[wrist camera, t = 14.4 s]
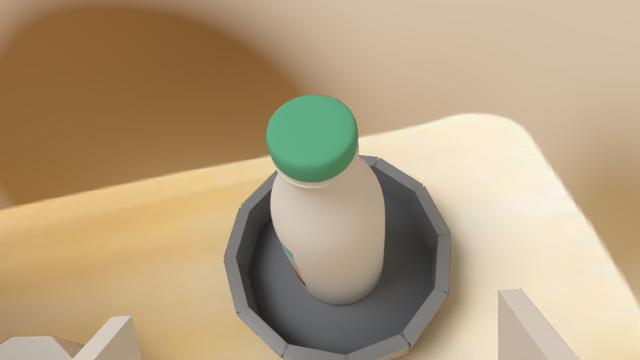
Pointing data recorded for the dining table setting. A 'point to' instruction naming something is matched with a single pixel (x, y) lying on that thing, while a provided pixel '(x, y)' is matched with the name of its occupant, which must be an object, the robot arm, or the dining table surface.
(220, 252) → the dining table surface
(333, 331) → the bowl
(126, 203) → the dining table surface
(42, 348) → the toilet tissue
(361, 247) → the milk bottle
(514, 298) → the robot arm
